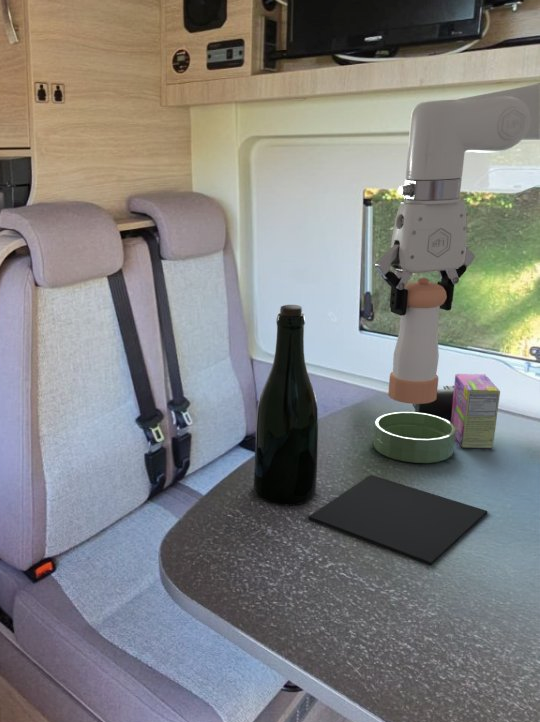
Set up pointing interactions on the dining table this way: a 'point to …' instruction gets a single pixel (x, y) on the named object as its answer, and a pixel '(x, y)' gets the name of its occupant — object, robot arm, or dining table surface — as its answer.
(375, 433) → the bowl
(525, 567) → the dining table surface
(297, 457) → the dark green wine bottle
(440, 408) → the end cap
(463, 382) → the box
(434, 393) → the pepper shaker
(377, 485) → the mat
